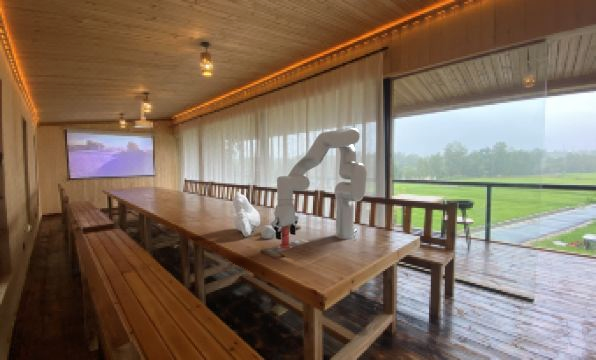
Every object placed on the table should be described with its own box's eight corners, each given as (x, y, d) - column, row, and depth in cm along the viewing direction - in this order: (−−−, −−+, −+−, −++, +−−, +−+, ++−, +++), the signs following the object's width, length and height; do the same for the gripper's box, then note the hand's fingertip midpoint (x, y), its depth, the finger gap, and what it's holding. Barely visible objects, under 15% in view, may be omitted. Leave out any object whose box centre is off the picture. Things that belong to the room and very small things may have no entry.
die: (270, 244, 140) (279, 228, 142) (256, 235, 141) (266, 220, 143) (271, 245, 148) (280, 230, 150) (258, 236, 149) (267, 222, 151)
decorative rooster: (241, 215, 174) (225, 189, 158) (264, 212, 172) (250, 184, 156) (234, 248, 156) (215, 222, 140) (259, 245, 153) (243, 217, 137)
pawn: (285, 244, 133) (285, 225, 132) (292, 246, 130) (292, 227, 129) (278, 246, 130) (278, 227, 129) (285, 249, 126) (285, 229, 126)
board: (298, 239, 145) (298, 237, 145) (315, 244, 137) (315, 242, 137) (261, 252, 127) (261, 249, 127) (278, 258, 118) (278, 255, 118)
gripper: (292, 198, 137) (292, 231, 138) (266, 203, 124) (267, 239, 126) (303, 200, 132) (303, 234, 133) (277, 205, 119) (277, 242, 121)
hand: (285, 236), depth 129 cm, fingers open, 9 cm apart
